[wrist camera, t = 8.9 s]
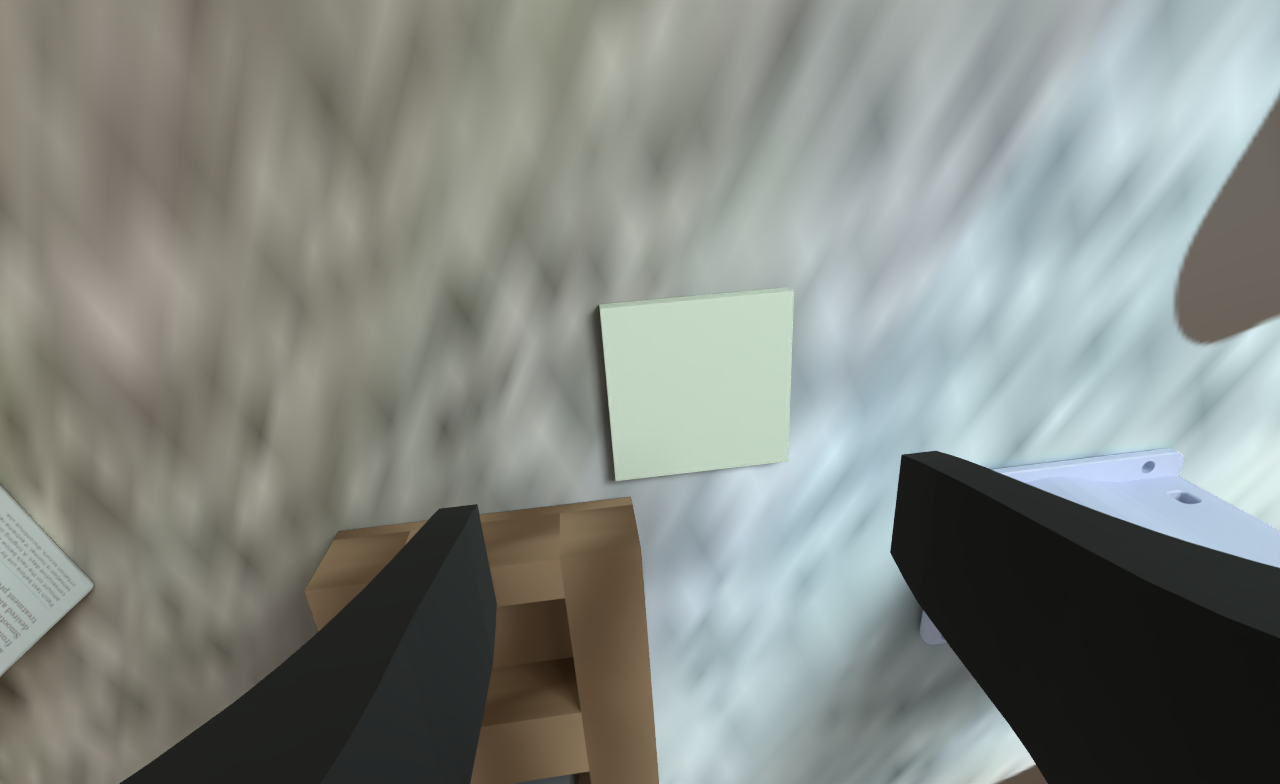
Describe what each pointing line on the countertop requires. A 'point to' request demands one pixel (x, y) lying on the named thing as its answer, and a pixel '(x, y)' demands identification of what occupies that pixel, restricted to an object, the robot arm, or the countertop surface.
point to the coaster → (698, 381)
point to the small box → (31, 582)
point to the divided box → (543, 639)
